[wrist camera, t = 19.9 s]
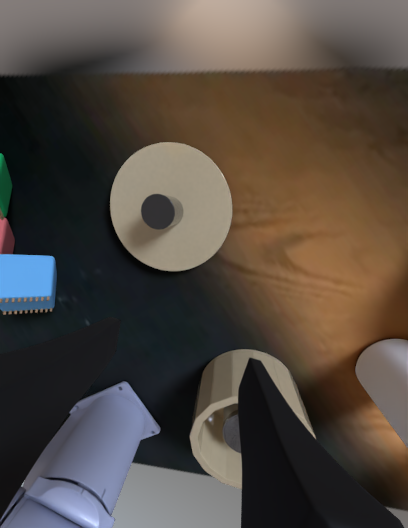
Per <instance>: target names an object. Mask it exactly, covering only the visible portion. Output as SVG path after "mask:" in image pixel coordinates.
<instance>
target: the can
mask: <svg viewBox="0 0 408 528" xmlns="http://www.w3.org/2000/svg"><path fill="white" fill-rule="evenodd" d="M355 372H356V376H357V378H358V380H359V382H360V383H361V385H362V386H363V388H364V389H365V390H366V392H367V393H368V394H369V396H370V397H371V399H372V400H373V401H374V403H375V404H376V405H377V407H378V408H379V410H380V411H381V412H382V414H383V415H384V416H385V418H386V419H387V420H388V422H389V423H390V425H391V426H392V427H393V429H394V430H395V431H396V433H397V434H398V435H399V437H400V438H401V440H402V441H403V442H404V444H405V445H406V446H407V448H408V340H404V339H387V340H382V341H378V342H376V343H374V344H372V345H370V346H369V347H367V348H366V349H365V350H364V351H363V352H362V353H361V355H360V356H359V358H358V361H357V364H356V368H355Z"/></svg>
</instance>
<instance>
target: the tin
mask: <svg viewBox="0 0 408 528" xmlns="http://www.w3.org/2000/svg"><path fill="white" fill-rule="evenodd" d="M222 434H223V438H224V440H225V442H226V443H227V445H228V446H229V447H230V448H231V449H233V450H234V451H236V452H238V453H241V446H240V432H239V419H238V404H232V405H229V406H226V407H224V414H223V427H222Z"/></svg>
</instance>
